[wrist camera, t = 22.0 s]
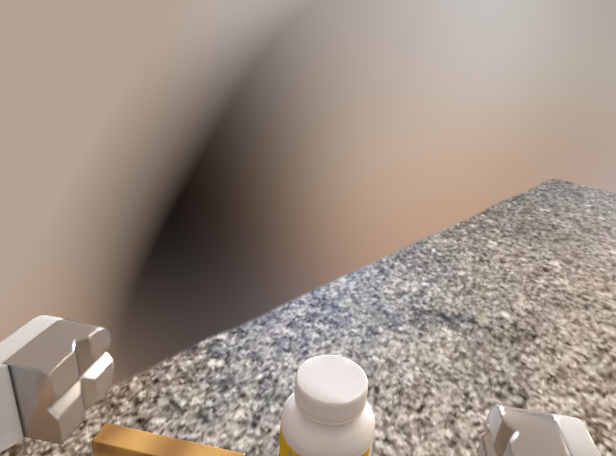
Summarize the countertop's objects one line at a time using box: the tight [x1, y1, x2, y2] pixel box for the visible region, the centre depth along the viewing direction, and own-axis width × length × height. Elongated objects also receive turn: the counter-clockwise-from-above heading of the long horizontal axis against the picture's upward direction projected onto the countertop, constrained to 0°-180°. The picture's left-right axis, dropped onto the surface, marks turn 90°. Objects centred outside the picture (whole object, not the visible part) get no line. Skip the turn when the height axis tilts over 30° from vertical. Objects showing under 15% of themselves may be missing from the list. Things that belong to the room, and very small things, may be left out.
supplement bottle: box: [279, 355, 375, 456], centre depth 26 cm, size 5×5×10 cm
